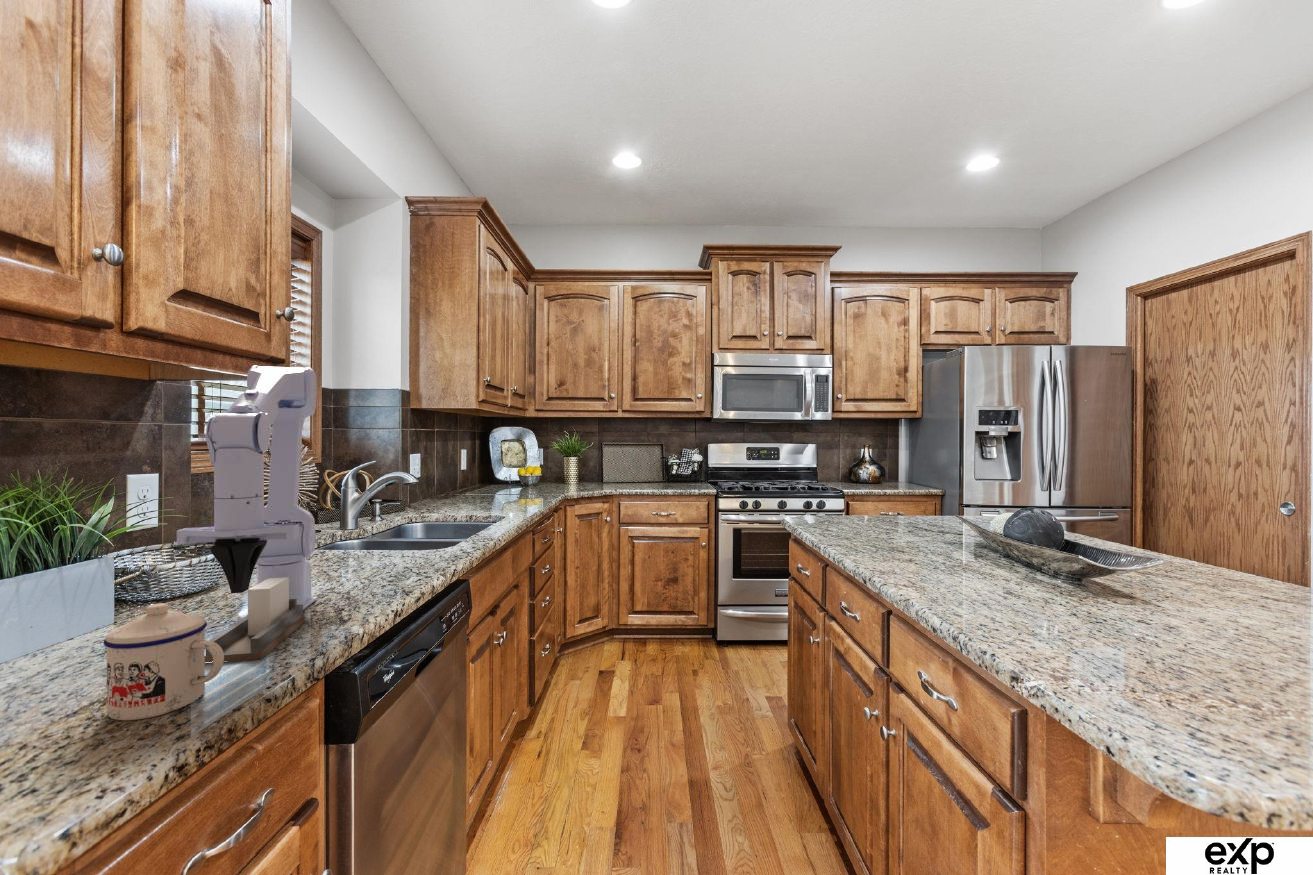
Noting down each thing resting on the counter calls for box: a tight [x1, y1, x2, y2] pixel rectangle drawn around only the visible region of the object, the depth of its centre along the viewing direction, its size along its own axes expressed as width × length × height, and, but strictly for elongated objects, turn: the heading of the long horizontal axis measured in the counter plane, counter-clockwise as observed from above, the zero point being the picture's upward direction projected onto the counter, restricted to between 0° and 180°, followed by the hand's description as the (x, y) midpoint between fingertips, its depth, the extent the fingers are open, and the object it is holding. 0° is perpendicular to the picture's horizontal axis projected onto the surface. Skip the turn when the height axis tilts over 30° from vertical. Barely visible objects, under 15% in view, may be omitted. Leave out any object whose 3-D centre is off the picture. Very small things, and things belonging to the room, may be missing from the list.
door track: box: [205, 599, 306, 662], centre depth 86 cm, size 16×7×4 cm, turn 13°
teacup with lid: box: [102, 602, 225, 721], centre depth 66 cm, size 12×9×12 cm
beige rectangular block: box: [247, 577, 289, 635], centre depth 89 cm, size 3×7×7 cm, turn 13°
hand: (239, 591), depth 80 cm, fingers closed
